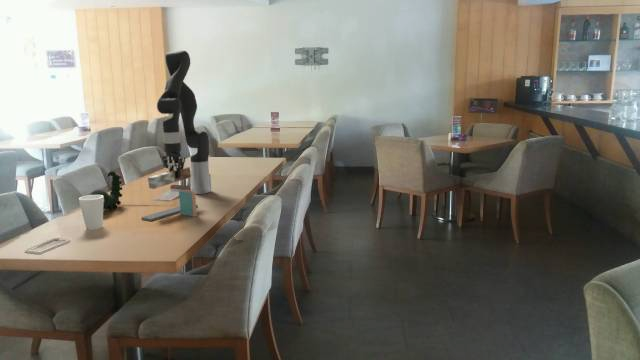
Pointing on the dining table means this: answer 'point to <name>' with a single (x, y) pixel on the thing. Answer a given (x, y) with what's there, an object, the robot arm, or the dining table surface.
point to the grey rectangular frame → (47, 248)
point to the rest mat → (162, 214)
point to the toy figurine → (111, 193)
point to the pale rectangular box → (168, 178)
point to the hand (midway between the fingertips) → (175, 177)
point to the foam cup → (92, 211)
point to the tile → (187, 202)
